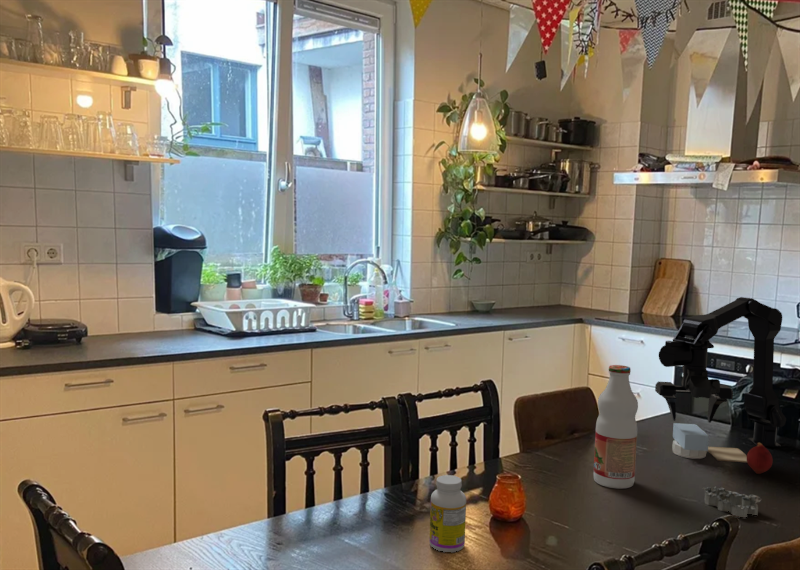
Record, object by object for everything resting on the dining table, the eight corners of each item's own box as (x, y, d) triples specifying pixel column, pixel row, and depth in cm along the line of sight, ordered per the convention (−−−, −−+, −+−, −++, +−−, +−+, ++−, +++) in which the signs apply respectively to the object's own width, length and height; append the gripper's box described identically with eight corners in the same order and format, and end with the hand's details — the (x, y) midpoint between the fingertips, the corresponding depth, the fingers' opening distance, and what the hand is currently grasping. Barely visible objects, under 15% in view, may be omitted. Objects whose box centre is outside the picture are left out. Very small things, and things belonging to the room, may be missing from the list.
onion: (765, 470, 175) (767, 439, 175) (775, 478, 170) (778, 447, 169) (741, 469, 176) (744, 438, 175) (751, 477, 170) (753, 445, 170)
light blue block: (672, 437, 193) (673, 423, 192) (694, 438, 192) (695, 424, 192) (684, 449, 182) (685, 434, 181) (707, 450, 181) (708, 436, 181)
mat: (704, 447, 193) (704, 446, 193) (737, 449, 192) (737, 448, 192) (717, 460, 182) (717, 459, 182) (753, 462, 181) (753, 461, 181)
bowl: (668, 447, 192) (669, 438, 192) (700, 449, 191) (700, 440, 191) (677, 457, 183) (678, 447, 183) (710, 459, 183) (711, 449, 182)
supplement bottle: (427, 538, 132) (429, 472, 131) (461, 537, 132) (463, 472, 131) (431, 554, 125) (433, 486, 124) (467, 554, 126) (470, 485, 125)
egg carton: (763, 516, 147) (765, 498, 147) (737, 521, 144) (739, 502, 144) (723, 497, 157) (724, 480, 157) (698, 502, 154) (699, 484, 154)
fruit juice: (623, 492, 158) (630, 372, 155) (585, 481, 164) (591, 366, 162) (640, 482, 164) (647, 367, 162) (604, 472, 171) (610, 361, 168)
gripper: (667, 369, 178) (663, 427, 179) (742, 372, 176) (738, 432, 177) (656, 360, 189) (653, 416, 191) (727, 364, 187) (723, 420, 188)
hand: (691, 421), depth 186 cm, fingers open, 9 cm apart
